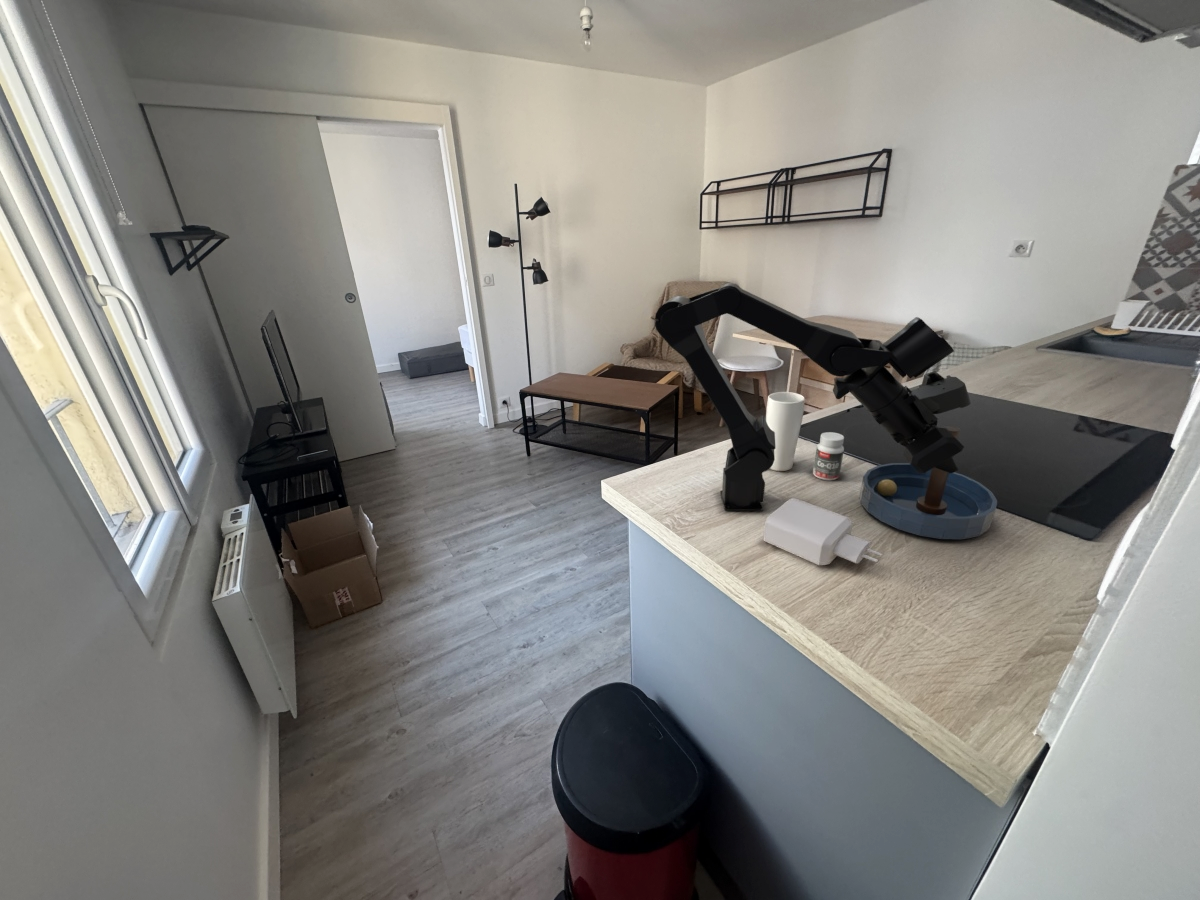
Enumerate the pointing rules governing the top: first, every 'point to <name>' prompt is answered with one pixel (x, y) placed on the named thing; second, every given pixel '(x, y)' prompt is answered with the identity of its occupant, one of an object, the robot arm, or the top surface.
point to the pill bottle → (829, 456)
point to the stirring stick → (936, 487)
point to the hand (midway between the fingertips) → (951, 467)
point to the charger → (815, 534)
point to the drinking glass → (784, 426)
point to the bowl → (962, 495)
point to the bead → (887, 487)
